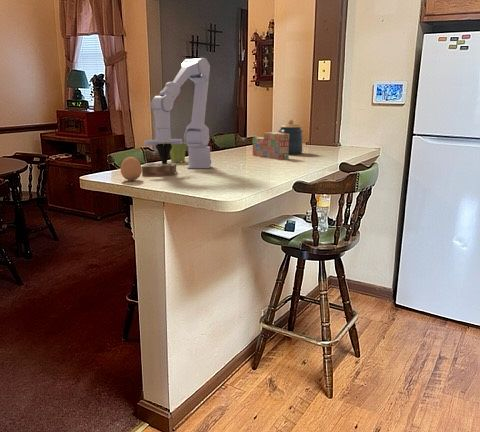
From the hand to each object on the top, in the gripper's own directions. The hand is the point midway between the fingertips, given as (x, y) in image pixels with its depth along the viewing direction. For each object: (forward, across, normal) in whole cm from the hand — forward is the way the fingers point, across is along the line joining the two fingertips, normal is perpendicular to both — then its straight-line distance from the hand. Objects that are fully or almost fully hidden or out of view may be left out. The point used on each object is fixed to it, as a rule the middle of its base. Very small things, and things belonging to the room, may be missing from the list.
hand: (164, 163), depth 183 cm
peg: (+3, 0, 0) cm, 3 cm away
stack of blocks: (+4, -63, -28) cm, 69 cm away
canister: (+4, -80, -38) cm, 89 cm away
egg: (+4, +16, +11) cm, 19 cm away
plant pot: (+4, -16, -32) cm, 36 cm away
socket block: (+4, +2, -1) cm, 4 cm away
